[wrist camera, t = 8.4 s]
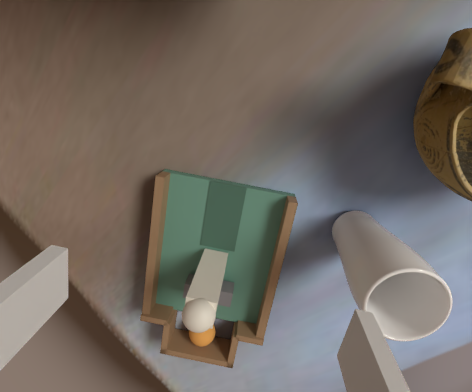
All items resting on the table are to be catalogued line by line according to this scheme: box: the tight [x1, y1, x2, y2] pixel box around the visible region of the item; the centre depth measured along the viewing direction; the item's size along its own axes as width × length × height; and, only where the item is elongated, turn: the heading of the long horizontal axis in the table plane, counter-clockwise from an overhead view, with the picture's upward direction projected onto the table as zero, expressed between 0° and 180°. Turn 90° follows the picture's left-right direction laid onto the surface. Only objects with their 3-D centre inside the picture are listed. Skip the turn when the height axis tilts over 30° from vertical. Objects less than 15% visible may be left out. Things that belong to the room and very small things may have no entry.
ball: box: [189, 324, 215, 347], centre depth 42 cm, size 4×4×4 cm
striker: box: [182, 249, 234, 333], centre depth 34 cm, size 6×6×12 cm
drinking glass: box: [332, 211, 452, 341], centre depth 31 cm, size 7×7×15 cm
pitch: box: [140, 169, 298, 368], centre depth 39 cm, size 24×16×4 cm, turn 170°
